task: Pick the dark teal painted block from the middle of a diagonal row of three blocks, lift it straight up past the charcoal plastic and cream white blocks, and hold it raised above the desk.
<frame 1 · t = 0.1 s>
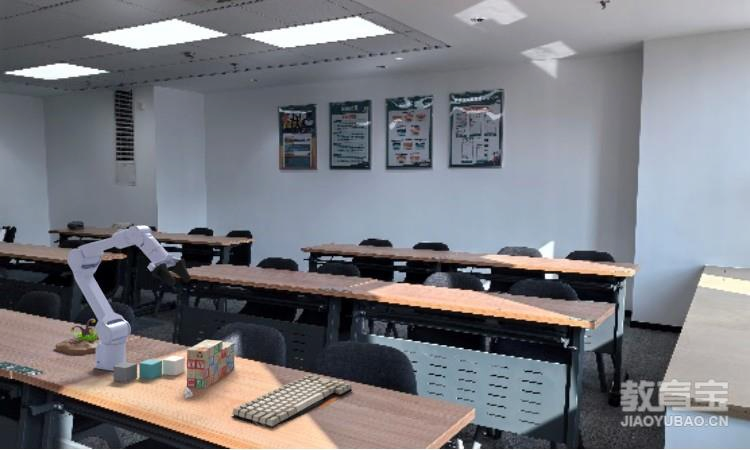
hand: (181, 282, 187), 32 cm above the table, tool tilted 50°, fingers open, 7 cm apart
cream block: (173, 372, 193), on the table
mechanical keyboard: (295, 405, 168), on the table
teal block: (150, 376, 189), on the table
power adapter: (192, 398, 172), on the table
plant: (87, 348, 222), on the table
stack of blocks: (211, 378, 189), on the table
charcoal block: (125, 380, 185), on the table
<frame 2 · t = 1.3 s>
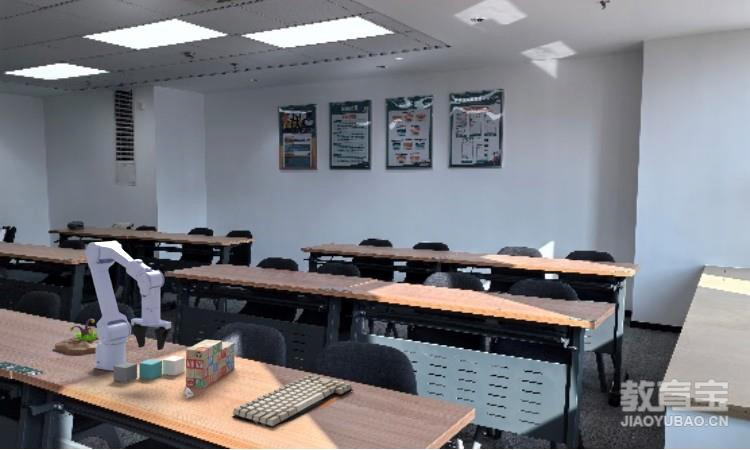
hand: (151, 348, 188), 9 cm above the table, tool pointing down, fingers open, 7 cm apart
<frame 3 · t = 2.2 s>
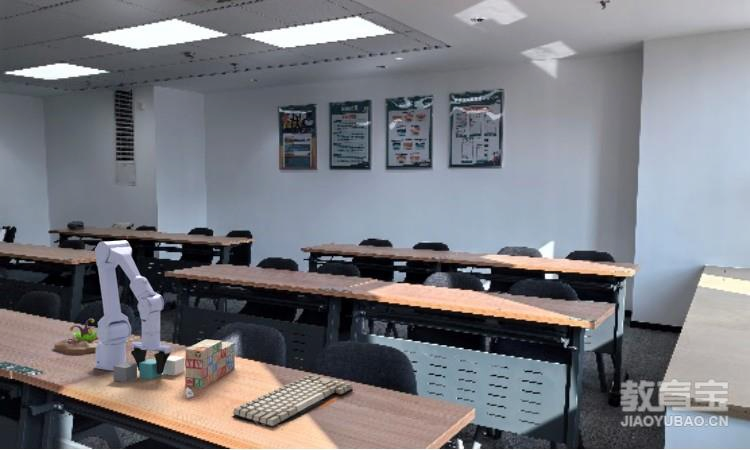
hand: (150, 371, 189), 1 cm above the table, tool pointing down, fingers open, 7 cm apart
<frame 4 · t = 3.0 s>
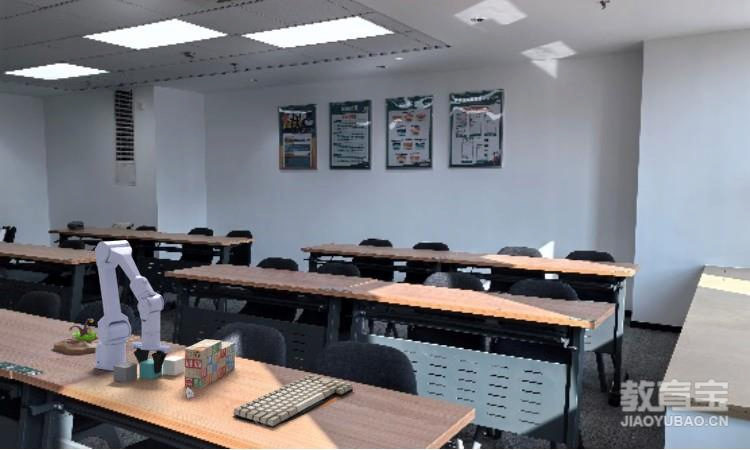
hand: (150, 371, 189), 1 cm above the table, tool pointing down, fingers closed on teal block, 5 cm apart
teal block: (150, 376, 189), on the table, touching gripper
everything else where it was.
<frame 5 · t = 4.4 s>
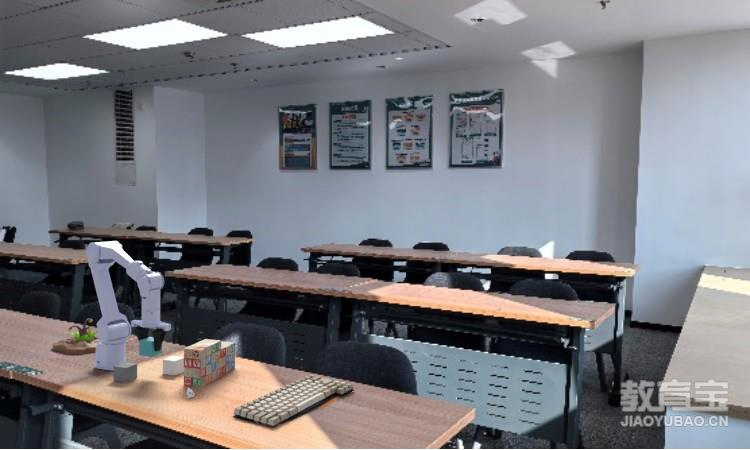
hand: (150, 349, 188), 9 cm above the table, tool pointing down, fingers closed on teal block, 5 cm apart
teal block: (150, 354, 188), point 7 cm above the table, touching gripper
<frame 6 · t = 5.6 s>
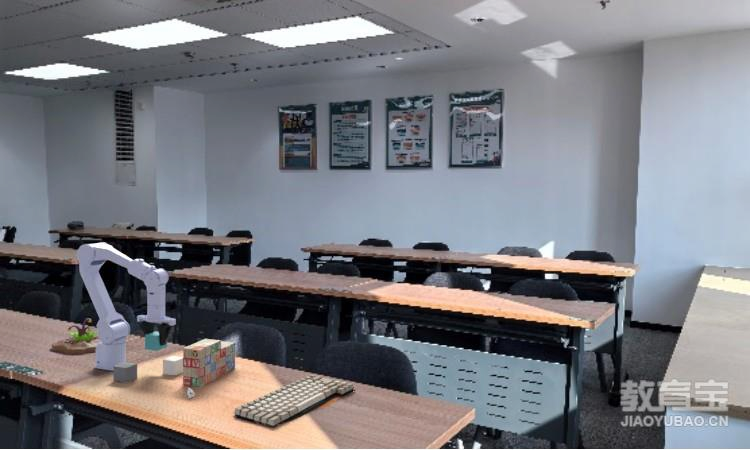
hand: (156, 344, 194), 9 cm above the table, tool pointing down, fingers closed on teal block, 5 cm apart
teal block: (156, 348, 194), point 8 cm above the table, touching gripper
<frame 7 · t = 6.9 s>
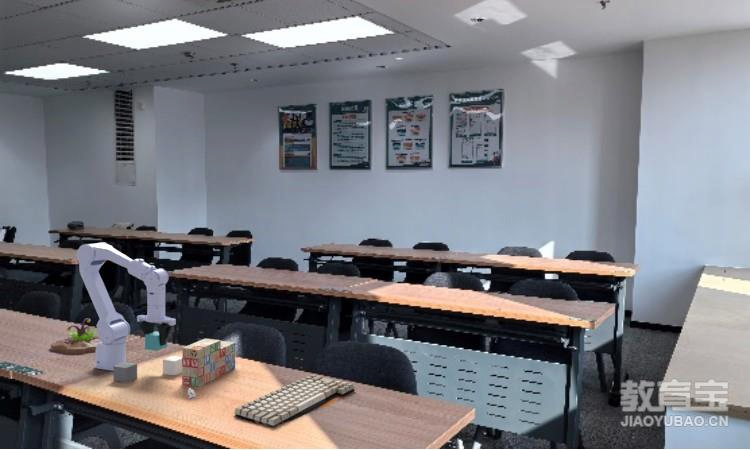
hand: (156, 344, 194), 9 cm above the table, tool pointing down, fingers closed on teal block, 5 cm apart
teal block: (156, 348, 194), point 8 cm above the table, touching gripper
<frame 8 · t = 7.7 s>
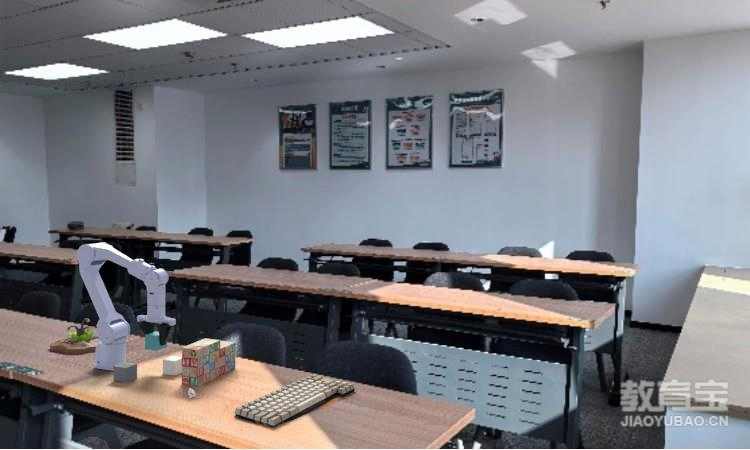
hand: (156, 344, 194), 9 cm above the table, tool pointing down, fingers closed on teal block, 5 cm apart
teal block: (156, 348, 194), point 8 cm above the table, touching gripper
at the end: teal block point 8.0 cm above the table; charcoal block moved 0.1 cm from its start; cream block moved 0.1 cm from its start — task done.
